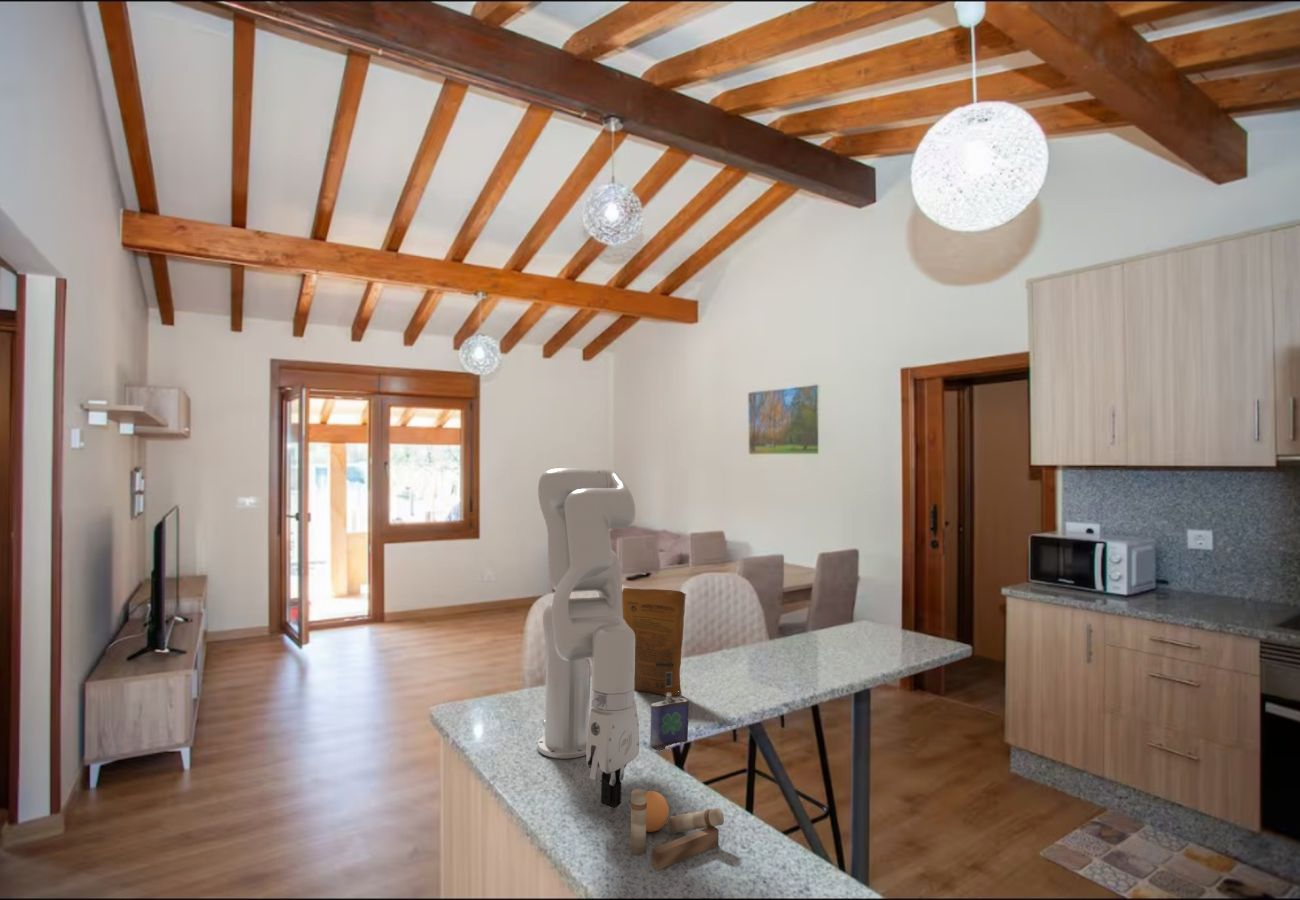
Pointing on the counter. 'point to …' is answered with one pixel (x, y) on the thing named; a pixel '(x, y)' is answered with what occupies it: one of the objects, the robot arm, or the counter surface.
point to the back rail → (684, 847)
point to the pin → (696, 820)
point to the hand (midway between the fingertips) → (610, 804)
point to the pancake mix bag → (656, 637)
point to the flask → (669, 721)
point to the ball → (656, 811)
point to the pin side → (638, 821)
